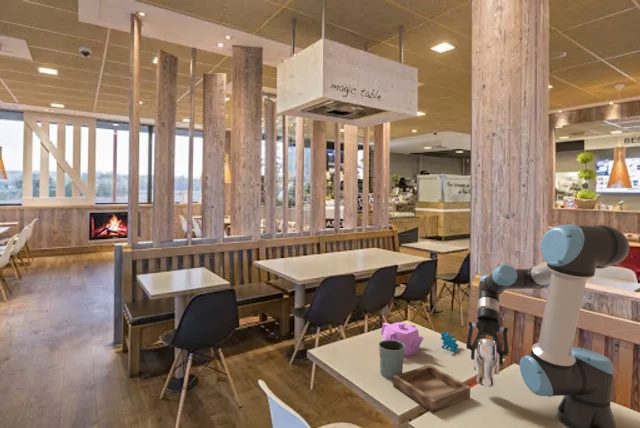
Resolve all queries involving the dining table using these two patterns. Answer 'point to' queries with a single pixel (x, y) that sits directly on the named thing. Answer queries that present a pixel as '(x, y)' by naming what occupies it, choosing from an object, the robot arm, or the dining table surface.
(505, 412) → the dining table surface
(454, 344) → the teal spiky toy
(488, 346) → the beer glass
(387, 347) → the grey green cup
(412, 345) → the teakettle
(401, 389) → the tray
